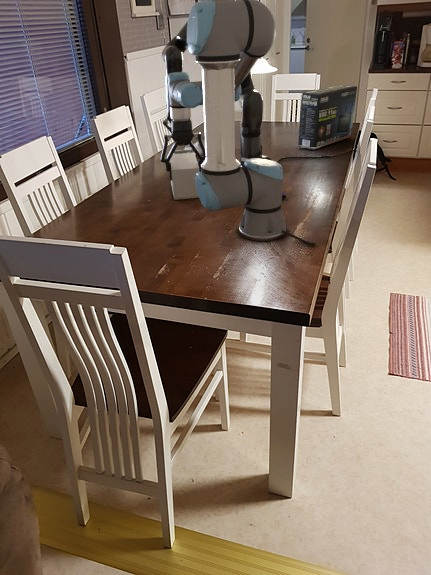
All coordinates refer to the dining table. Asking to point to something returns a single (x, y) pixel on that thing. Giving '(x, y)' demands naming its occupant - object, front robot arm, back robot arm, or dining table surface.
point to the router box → (326, 115)
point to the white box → (184, 175)
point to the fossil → (197, 147)
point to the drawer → (182, 151)
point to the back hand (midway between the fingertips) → (178, 142)
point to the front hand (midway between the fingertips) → (185, 178)
